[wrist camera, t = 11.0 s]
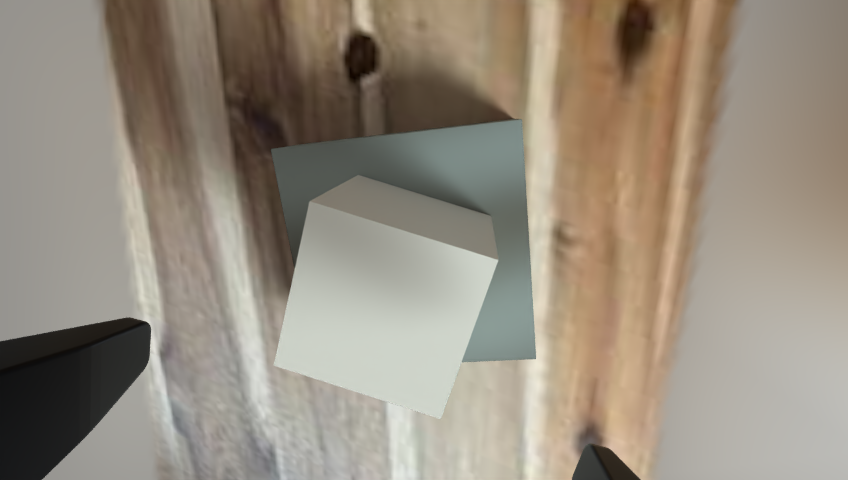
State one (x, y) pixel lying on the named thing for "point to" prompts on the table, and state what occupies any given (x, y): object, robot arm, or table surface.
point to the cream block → (387, 293)
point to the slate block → (447, 181)
